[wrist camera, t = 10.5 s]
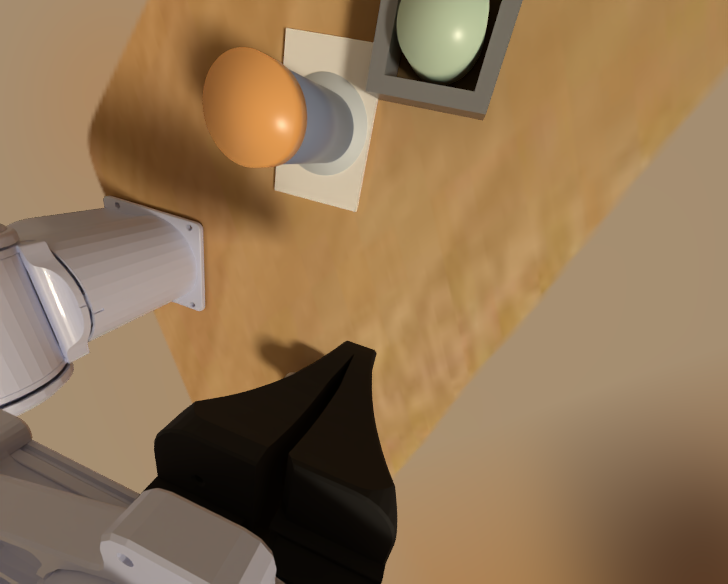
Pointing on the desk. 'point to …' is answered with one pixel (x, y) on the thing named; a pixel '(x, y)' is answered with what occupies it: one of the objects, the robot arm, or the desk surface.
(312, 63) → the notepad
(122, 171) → the desk surface
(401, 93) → the button housing
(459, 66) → the button
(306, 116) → the orange-capped grey cylinder
